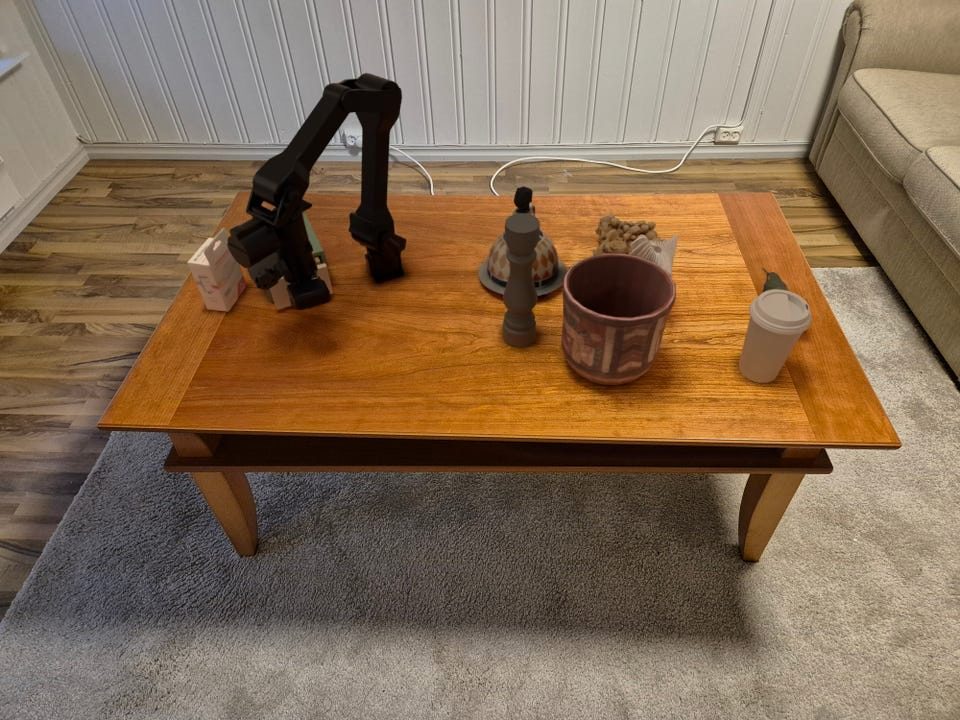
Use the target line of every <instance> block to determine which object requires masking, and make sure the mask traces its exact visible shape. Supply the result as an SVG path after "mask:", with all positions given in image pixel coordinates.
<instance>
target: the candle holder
mask: <svg viewBox="0 0 960 720" xmlns="http://www.w3.org/2000/svg"><path fill="white" fill-rule="evenodd" d="M540 227H541V221H540V220H539V218H538V217H537V216H536V215H535V216H534V215H530V214H526V213H519V214H514V215H513V214H512V215H510V216H508V217H507V218H506V219H505V221H504V232H505V242H506V244H507V246H508V248H509V249H508V250H507V252H506V258H507V260H508V261H509V262H510V274H509V278H508V281H507V284H506V288H505V291H504V295H503V294H502V295H503V297H502V302H503V304H504V306H505V308H506V309H507V310H506V311H505V313H504V316H503V319H502V320H503V321H502V340H503V342H504V343H505V344H507V345H508V346H510V347H512V348H516V349H522V348H528V347H530V346H531V345H532V344H533V343H534V342H535V341H536V335H537V333H536V331H537V321H536V316H535V313H534V311H533V309H534V308H535V307H536V305H537V303H538V296H537V292H536V288H535V284H534V280H533V276H532V263H533V262H534V261H535V260H536V257H537V252H536V250H535V247H536V246H537V243H538V242H539V231H540V230H541V228H540Z"/></svg>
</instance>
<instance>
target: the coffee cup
mask: <svg viewBox="0 0 960 720" xmlns="http://www.w3.org/2000/svg"><path fill="white" fill-rule="evenodd" d="M748 314H749V315H750V316H749V318H748V319H749V320H748V323H747V324H748V325H747V328H746V333H745V337H744V341H743V346H742V349H741V354H740V356H739V361H738V370H739V372H740V374H741V375H742V376H743V377H744V378H746V379H747V380H749V381H751V382H754V383H757V384H758V383H759V384H766V383H771V382H773V381H774V380H775V379H776V378H777V376H778V375H779V373H780V371H782V370H781V369H782V368H783V367H784V364H785V363H786V361H787V359H788V358H789V356H790V354H791V353H792V351H793V349H794V347H795V346H796V344H797V343H798V341H799V339H800V338H801V336H802V334H803V332H805V331H807V330H808V329H809V328H810V326H811V324H812V313H811V309H810V305H809V303H808V302H807V301H806V299H804V298H803V297H802V296H800V295H799V294H797V293H795V292H793V291H790V290H789V291H786V290H779V289H774V290H768V291H765V292H761V294H759V295H757V297H755V298H754V299H753V300H752V302H751V303H750V304H749V306H748Z"/></svg>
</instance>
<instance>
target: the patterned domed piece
mask: <svg viewBox="0 0 960 720" xmlns="http://www.w3.org/2000/svg"><path fill="white" fill-rule="evenodd" d="M533 194H534V191H533V190H532V188H530V187H527V186H523V185H521V186H520V187H517V188H516V190H515V193H514V195H513V204H514V206H515V207H516V208H515V209H514V210H513V211H512V213H511V214H512V215H514V214H519V213H526V214H530V215H534V216H535V217H536V206H535V205H534V203H533ZM491 245H492V246H491V247H490V249H489V253H488V258H487V259H485V260H484V261H483V262H482V263H481V264H480V266H479V268H478V273H477V274H478V279H479V281H480V282H481V284H482V285H483V286H485V287H486V288H487V289H489V290H490V291H493V292H495V293H497V294H501V295H504V291H505V288H506V284H507V281H508V278H509V274H510V262H509V261H508V260H507V258H506V252H507V250H508V249H509V248H508V246H507V244H506V242H505V231H504V232H502V233H500V234H499V235H498V236H497V237H496V238H495V240H494V242H493V243H492V244H491ZM535 250H536V252H537V257H536V260H535V261H534V262H533V263H532V276H533V280H534V284H535V288H536V292H537V297H538V296H540V298H541V299H544V298H545V297H546V296H547V295H548V294H549V293H552V292H554V291H556V290H557V289H559V288H560V287H562V286H563V280H564V276H565V274H566V273H567V271H568V267H567V266H566V265H565V263H564V262H563V261H562V260H561V259H560V258H559V256H558V251H557V248H556V246H555V244H554V241H552V239H551V238H550V236H549V235H548V234H547V233H545V232H544V231H543V230H541V229H540V231H539V242H538V243H537V246H536V247H535Z"/></svg>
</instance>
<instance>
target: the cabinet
mask: <svg viewBox="0 0 960 720" xmlns="http://www.w3.org/2000/svg"><path fill="white" fill-rule="evenodd" d="M303 218H304V222H305V226H306V230H307V234H308V238H309V241H310V243H311V245H312V247H313V251H312V254H313V257H315V256H318V258H319V260H320V262H321V264H324V263H325V264H326V266H327V269H328V264H327V259H326V255H325V250H324V248H323V246H322V244H321V242H320V241H319V238H318V237H317V234H316V232H315V230H314V228H313V226H312V224H311V221H310V220H309V218H308V215H307V214H303ZM328 270H329V269H328ZM328 273H329V271H328ZM329 274H330V273H329ZM329 278H330V279H331V277H330V275H329ZM330 282H331V283H332V281H331V280H330ZM265 291H266V294H267V296H268V299H269V302H270V303H274V300H273V297H272V294H271V290H270V289H268V290H265Z"/></svg>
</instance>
